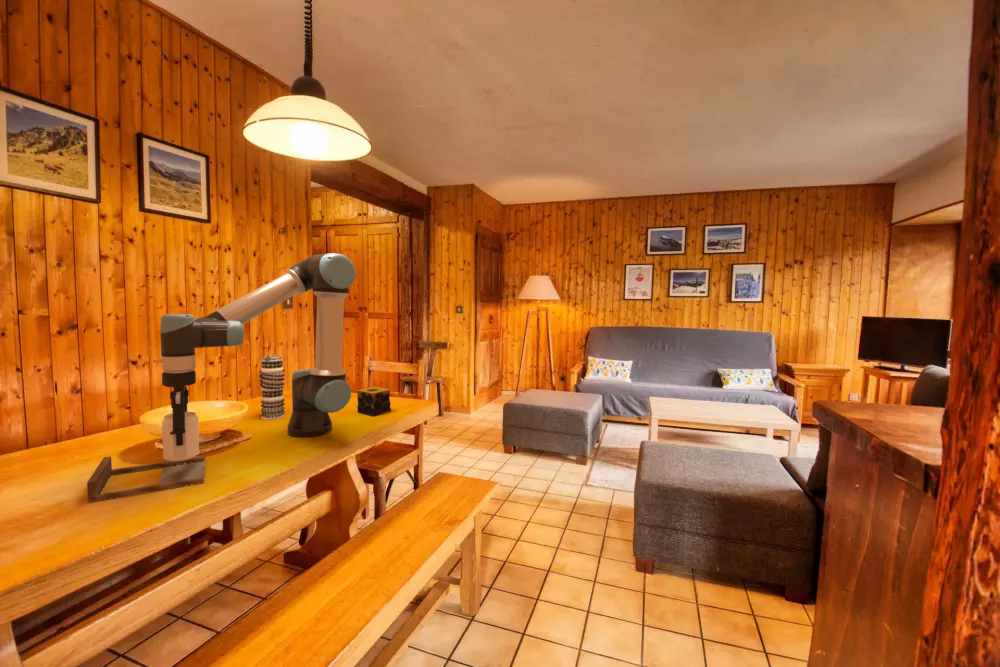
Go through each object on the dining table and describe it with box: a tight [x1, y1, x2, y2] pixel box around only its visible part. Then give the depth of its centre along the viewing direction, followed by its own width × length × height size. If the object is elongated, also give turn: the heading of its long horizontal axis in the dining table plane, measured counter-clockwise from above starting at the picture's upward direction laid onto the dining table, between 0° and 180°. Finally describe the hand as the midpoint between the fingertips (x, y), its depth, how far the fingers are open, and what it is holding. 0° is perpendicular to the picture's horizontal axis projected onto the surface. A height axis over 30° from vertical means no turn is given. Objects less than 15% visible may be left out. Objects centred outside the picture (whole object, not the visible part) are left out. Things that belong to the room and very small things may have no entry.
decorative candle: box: [258, 354, 286, 421], centre depth 177 cm, size 9×9×25 cm
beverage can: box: [161, 411, 200, 461], centre depth 122 cm, size 8×8×12 cm
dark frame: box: [86, 455, 206, 503], centre depth 119 cm, size 23×18×5 cm
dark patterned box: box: [356, 386, 392, 417], centre depth 189 cm, size 10×10×10 cm
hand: (181, 451), depth 122 cm, fingers closed on beverage can, 8 cm apart
